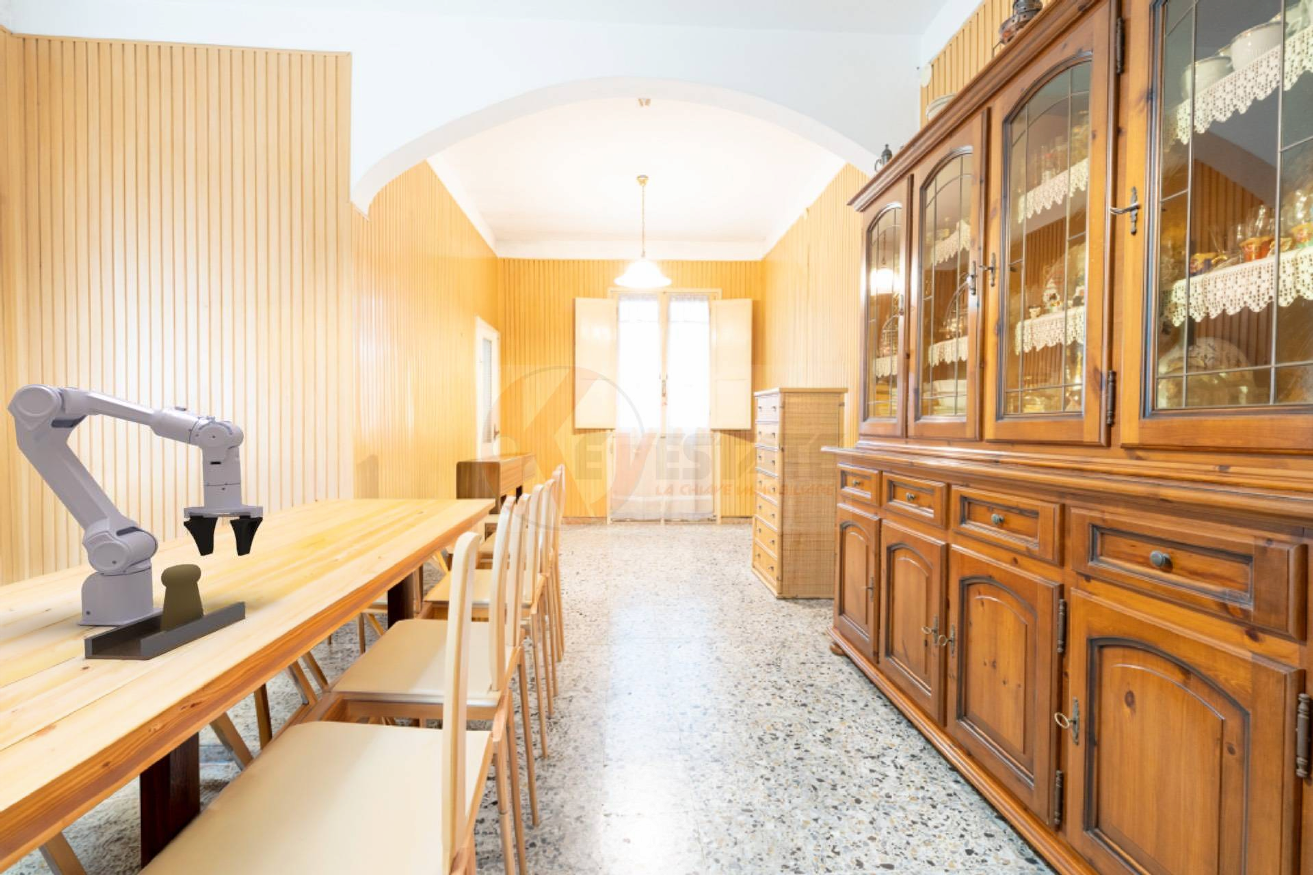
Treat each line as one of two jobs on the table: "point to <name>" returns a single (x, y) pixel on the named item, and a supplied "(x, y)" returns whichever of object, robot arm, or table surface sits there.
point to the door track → (157, 635)
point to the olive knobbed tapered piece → (181, 595)
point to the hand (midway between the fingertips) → (225, 554)
